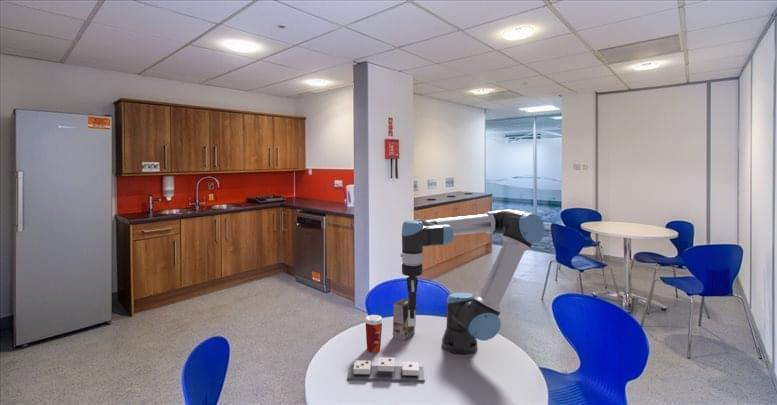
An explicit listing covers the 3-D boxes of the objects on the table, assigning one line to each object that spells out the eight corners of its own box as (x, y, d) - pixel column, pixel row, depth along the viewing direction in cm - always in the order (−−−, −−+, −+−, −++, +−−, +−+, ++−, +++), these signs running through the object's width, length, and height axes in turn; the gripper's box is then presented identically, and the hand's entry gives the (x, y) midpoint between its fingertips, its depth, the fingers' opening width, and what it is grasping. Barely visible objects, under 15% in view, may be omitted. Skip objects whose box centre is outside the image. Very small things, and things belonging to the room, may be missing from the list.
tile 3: (371, 365, 147) (371, 360, 147) (369, 374, 141) (369, 368, 141) (355, 365, 147) (355, 360, 147) (353, 373, 141) (353, 368, 141)
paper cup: (380, 355, 158) (380, 322, 157) (362, 352, 160) (362, 320, 159) (384, 346, 166) (384, 314, 165) (367, 344, 168) (367, 313, 166)
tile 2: (394, 362, 147) (394, 357, 146) (394, 371, 141) (394, 365, 140) (378, 362, 147) (378, 357, 147) (377, 370, 141) (378, 365, 141)
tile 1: (418, 366, 147) (418, 361, 146) (418, 375, 141) (419, 369, 140) (402, 366, 147) (402, 361, 146) (402, 375, 141) (402, 369, 140)
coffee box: (404, 341, 171) (404, 306, 169) (392, 337, 175) (392, 303, 173) (415, 333, 179) (415, 300, 177) (403, 330, 182) (404, 297, 181)
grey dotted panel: (423, 368, 148) (423, 366, 148) (424, 382, 139) (424, 379, 139) (350, 367, 149) (350, 364, 149) (347, 380, 140) (347, 377, 140)
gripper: (401, 258, 147) (401, 318, 149) (402, 268, 134) (402, 333, 136) (421, 258, 147) (420, 318, 149) (423, 268, 134) (423, 333, 136)
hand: (411, 325), depth 143 cm, fingers closed
